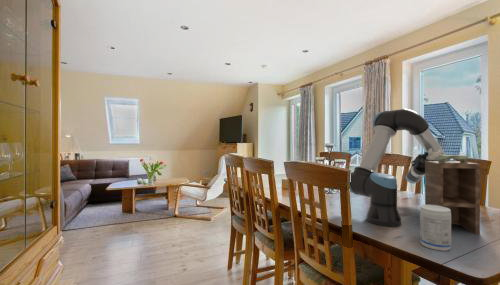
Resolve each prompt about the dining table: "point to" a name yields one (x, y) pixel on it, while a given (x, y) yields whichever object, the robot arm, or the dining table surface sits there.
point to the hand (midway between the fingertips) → (436, 150)
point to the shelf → (455, 189)
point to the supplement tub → (435, 227)
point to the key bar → (436, 156)
